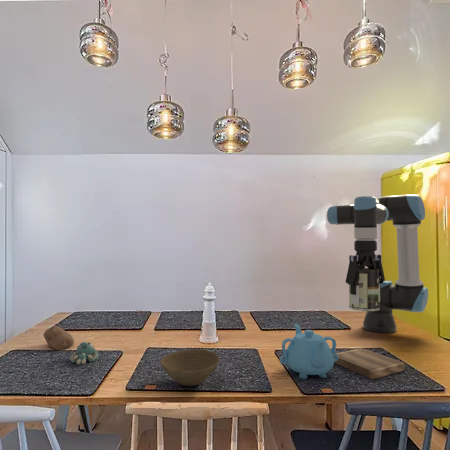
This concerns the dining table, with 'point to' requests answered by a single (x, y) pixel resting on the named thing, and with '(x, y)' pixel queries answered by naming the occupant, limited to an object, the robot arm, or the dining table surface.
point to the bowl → (190, 366)
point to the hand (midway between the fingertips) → (365, 302)
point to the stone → (58, 338)
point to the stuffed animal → (84, 353)
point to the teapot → (309, 353)
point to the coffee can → (367, 290)
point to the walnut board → (369, 363)
